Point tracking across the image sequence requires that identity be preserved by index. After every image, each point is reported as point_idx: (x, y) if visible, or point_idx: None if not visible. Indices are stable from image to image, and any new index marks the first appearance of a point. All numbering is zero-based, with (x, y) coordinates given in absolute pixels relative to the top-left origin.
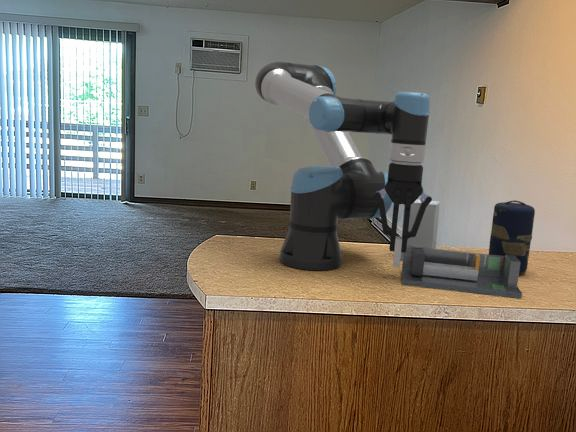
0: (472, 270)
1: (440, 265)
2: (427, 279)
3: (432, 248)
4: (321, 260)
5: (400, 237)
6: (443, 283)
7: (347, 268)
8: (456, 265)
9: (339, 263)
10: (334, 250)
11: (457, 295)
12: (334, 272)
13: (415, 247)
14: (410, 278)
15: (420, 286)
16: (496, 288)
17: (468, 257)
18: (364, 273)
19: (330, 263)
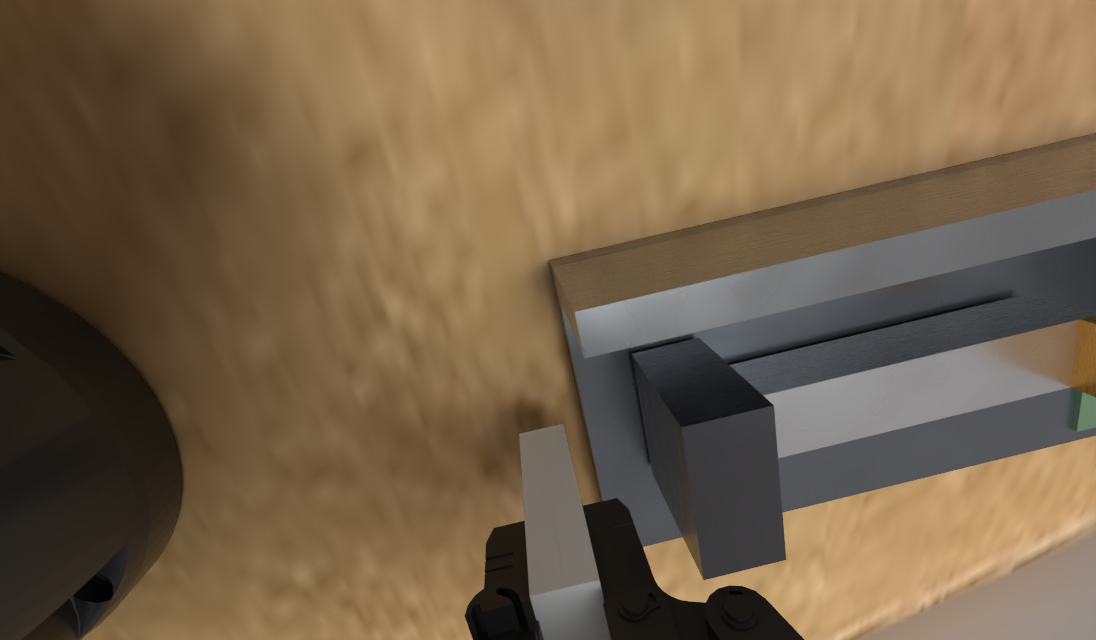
0: (1051, 387)
1: (853, 422)
2: None
3: (846, 251)
4: (86, 633)
5: (587, 607)
6: (824, 491)
7: (230, 433)
8: (965, 347)
9: (163, 476)
10: (66, 591)
11: (869, 525)
12: (214, 551)
13: (686, 322)
14: (650, 512)
15: None
16: (1092, 426)
17: None
18: (366, 467)
19: (141, 571)
